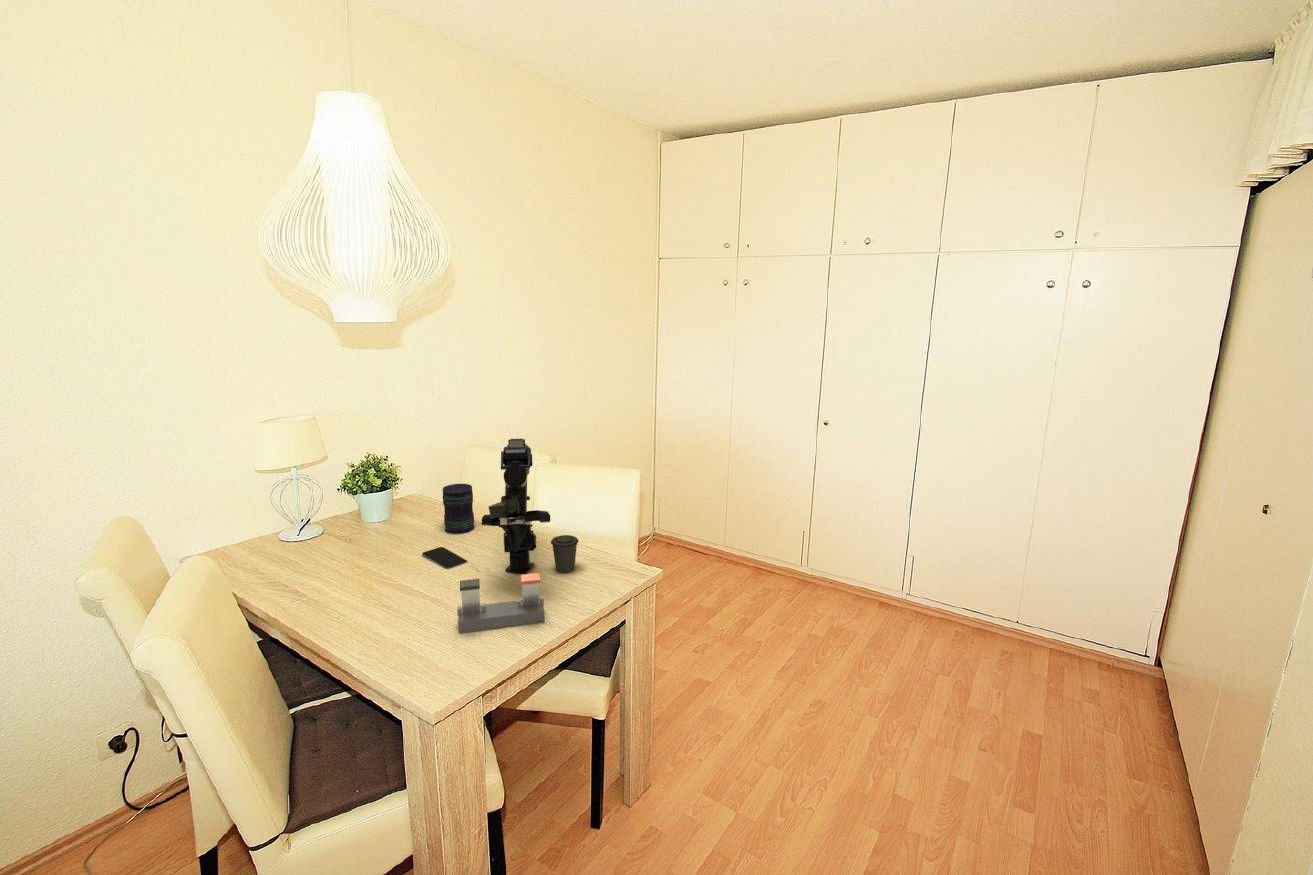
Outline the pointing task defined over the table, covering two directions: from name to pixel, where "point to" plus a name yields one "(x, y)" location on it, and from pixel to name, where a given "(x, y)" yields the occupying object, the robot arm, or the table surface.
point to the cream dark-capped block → (470, 595)
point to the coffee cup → (564, 552)
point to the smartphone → (444, 558)
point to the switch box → (500, 616)
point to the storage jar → (458, 508)
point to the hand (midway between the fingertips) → (514, 551)
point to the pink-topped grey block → (530, 589)
